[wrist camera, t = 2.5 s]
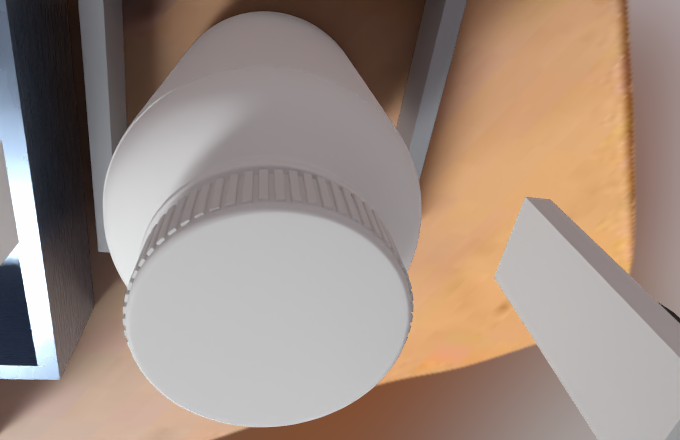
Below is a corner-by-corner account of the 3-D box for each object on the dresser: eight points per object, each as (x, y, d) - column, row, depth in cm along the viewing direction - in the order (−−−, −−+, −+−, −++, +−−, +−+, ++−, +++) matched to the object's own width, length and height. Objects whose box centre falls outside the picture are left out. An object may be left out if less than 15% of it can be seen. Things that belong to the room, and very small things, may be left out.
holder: (113, 223, 24) (98, 251, 22) (93, -111, 17) (69, -117, 15) (384, 243, 26) (395, 271, 24) (454, -40, 20) (476, -38, 18)
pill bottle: (348, -8, 20) (493, 93, 7) (364, 171, 24) (475, 440, 11) (152, 18, 20) (-69, 174, 7) (201, 196, 24) (123, 505, 11)
